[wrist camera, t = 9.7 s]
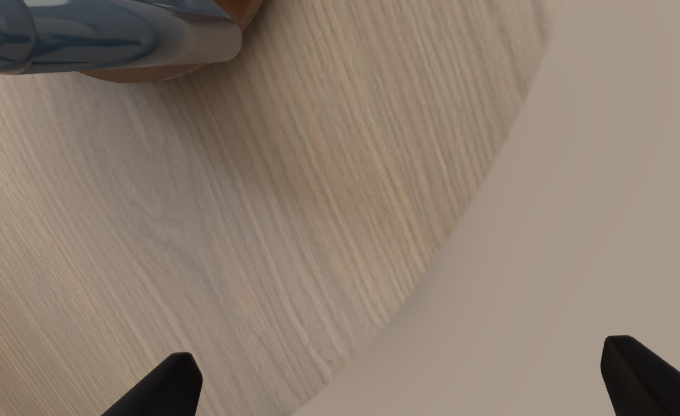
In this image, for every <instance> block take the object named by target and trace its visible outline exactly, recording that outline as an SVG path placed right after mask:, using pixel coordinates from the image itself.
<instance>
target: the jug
mask: <svg viewBox="0 0 680 416" xmlns="http://www.w3.org/2000/svg"><path fill="white" fill-rule="evenodd" d="M262 2H263V0H0V75H21V74H38V73H54V72H70V71H78V72H80V73H82V74H85V75H88V76H91V77H94V78H97V79H101V80H106V81H112V82H117V83H146V82H154V81H162V80H169V79H173V78H176V77H179V76H183V75H186V74H189V73H191V72H193V71H195V70H197V69H199V68H201V67H203V66H205V65H206V64H208V63H216V62H226V61H229V60H231V59H233V58H234V57H235V56H236V55H237V54H238V53H239V51H240V49H241V46H242V34H241V33H242V32H243V31H244V30H245V28H246V27H247V26H248V25H249V23H250V22H251V20H252V19H253V17H254V15H255V14H256V12H257V10H258V8H259V7H260V5H261V3H262Z"/></svg>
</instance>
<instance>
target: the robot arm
mask: <svg viewBox="0 0 680 416" xmlns="http://www.w3.org/2000/svg"><path fill="white" fill-rule="evenodd" d="M601 373H602V376H603V379H604V382H605V385H606V388H607V391H608V394H609V397H610V399H611V402H612V405H613V408H614V411H615V413H616V416H680V372H679V371H678V370H677V369H675V368H674V367H672V366H671V365H669V364H668V363H667V362H666V361H664V360H663V359H662V358H660V357H659V356H658V355H656V354H655V353H654V352H652V351H651V350H649V349H648V348H647V347H646V346H644V345H643V344H641V343H640V342H639V341H637V340H636V339H635V338H633V337H631V336H628V335H618V336H608V337H607V338H606V339H605V342H604V348H603V353H602V358H601ZM202 383H203V378H202V374H201V372H200V370H199V368H198V366H197V364H196V362H195V360H194V358H193V356H192V354H190V353H189V352H177V353H173V354H171V355H170V356H168V357H167V358H166V359H165V360H164V361H163V362H161V363H160V364H159V365H158V366H157V367H156V368H155V369H153V370H152V371H151V372H150V373H149V374H148V375H147V376H145V377H144V378H143V379H142V380H141V381H140V382H139V383H137V384H136V385H135V386H134V387H133V388H132V389H131V390H129V391H128V392H127V393H126V394H125V395H124V396H123V397H121V398H120V399H119V400H118V401H117V402H116V403H115V404H113V405H112V406H111V407H110V408H109V409H108V410H107V411H106V412H104V413H103V414H102V415H101V416H195V413H196V409H197V405H198V401H199V397H200V392H201V388H202Z"/></svg>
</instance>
